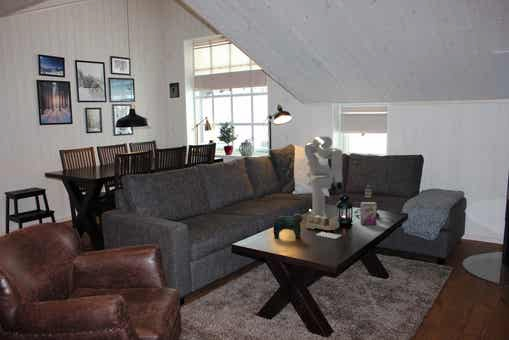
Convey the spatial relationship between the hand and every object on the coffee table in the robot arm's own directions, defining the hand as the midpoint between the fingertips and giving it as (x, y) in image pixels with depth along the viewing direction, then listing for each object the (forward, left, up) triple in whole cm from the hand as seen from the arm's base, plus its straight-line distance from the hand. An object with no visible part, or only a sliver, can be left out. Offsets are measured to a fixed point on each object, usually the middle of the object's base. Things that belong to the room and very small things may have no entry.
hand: (336, 190), depth 308 cm
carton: (-7, -8, -28) cm, 29 cm away
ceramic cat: (-13, -43, -28) cm, 52 cm away
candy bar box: (+16, +19, -28) cm, 37 cm away
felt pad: (+6, -22, -28) cm, 35 cm away
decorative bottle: (+6, +40, -28) cm, 50 cm away
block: (-7, -8, -28) cm, 29 cm away
